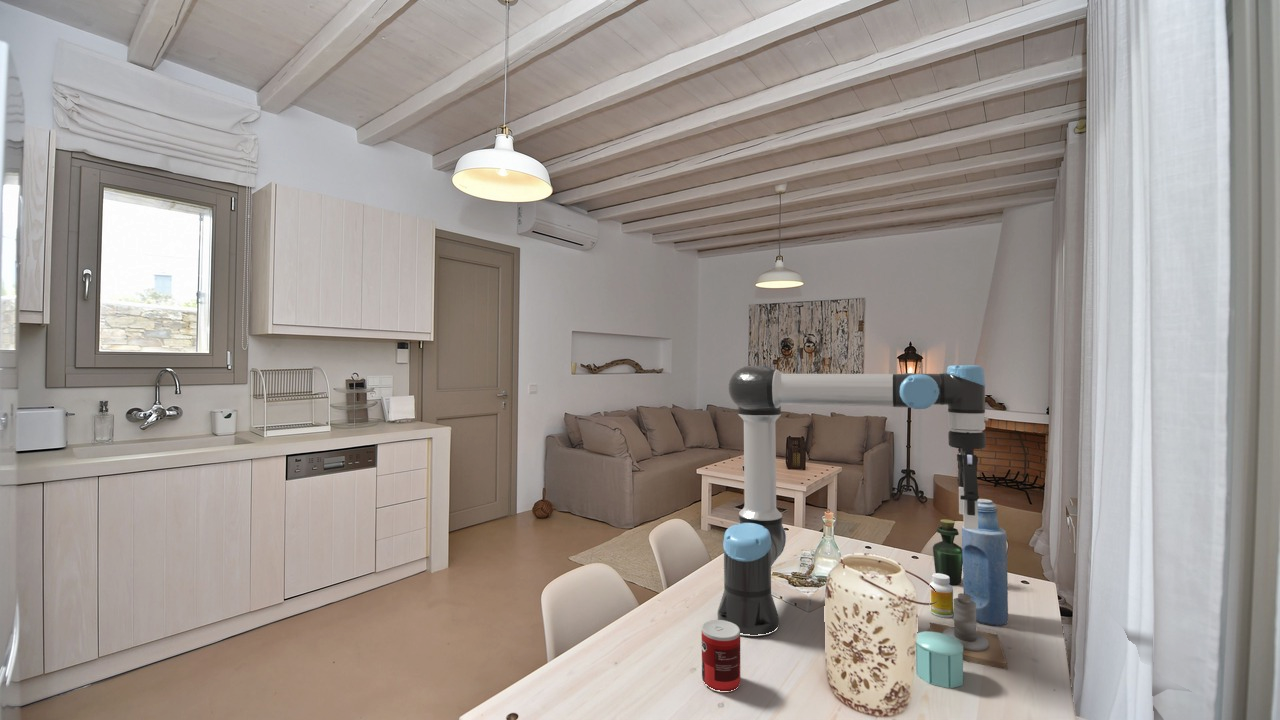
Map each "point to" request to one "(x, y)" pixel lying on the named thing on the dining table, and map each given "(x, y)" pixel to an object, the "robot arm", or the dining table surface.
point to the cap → (939, 659)
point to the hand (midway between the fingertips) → (968, 521)
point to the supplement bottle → (941, 596)
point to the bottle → (986, 566)
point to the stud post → (972, 635)
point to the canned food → (721, 655)
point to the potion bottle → (948, 553)
